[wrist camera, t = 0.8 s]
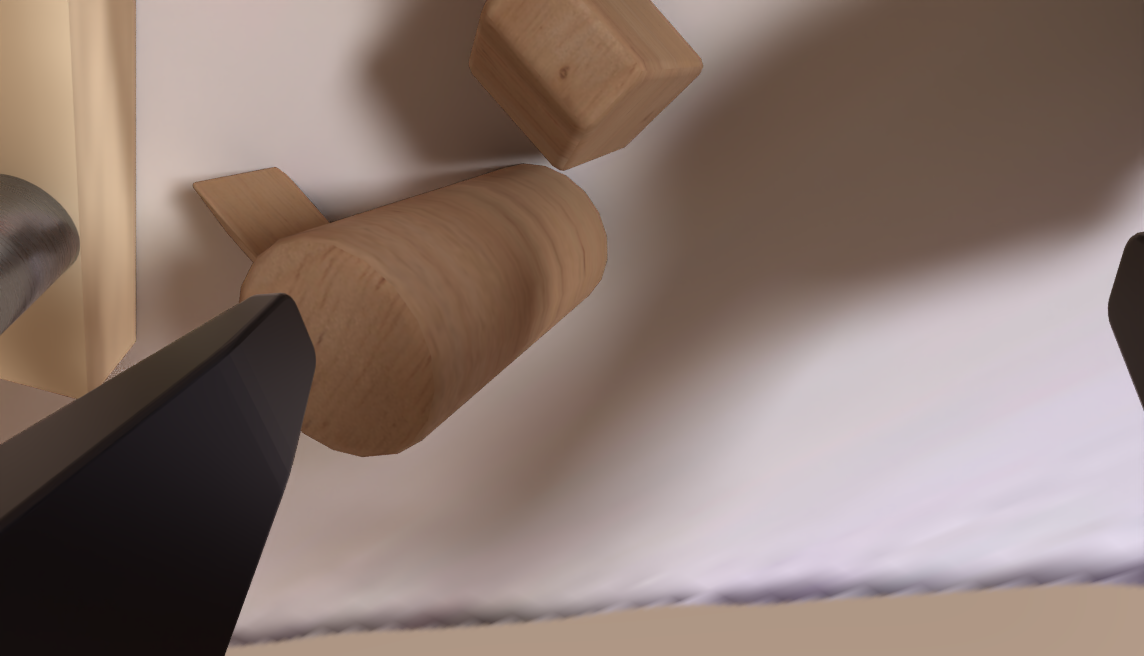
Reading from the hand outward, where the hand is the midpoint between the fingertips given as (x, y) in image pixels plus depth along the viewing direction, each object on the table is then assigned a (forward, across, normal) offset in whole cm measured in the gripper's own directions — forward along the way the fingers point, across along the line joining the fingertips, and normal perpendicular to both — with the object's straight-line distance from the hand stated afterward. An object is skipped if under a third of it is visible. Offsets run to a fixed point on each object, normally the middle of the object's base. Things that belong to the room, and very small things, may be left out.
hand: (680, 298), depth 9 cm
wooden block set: (+14, +4, +2) cm, 14 cm away
